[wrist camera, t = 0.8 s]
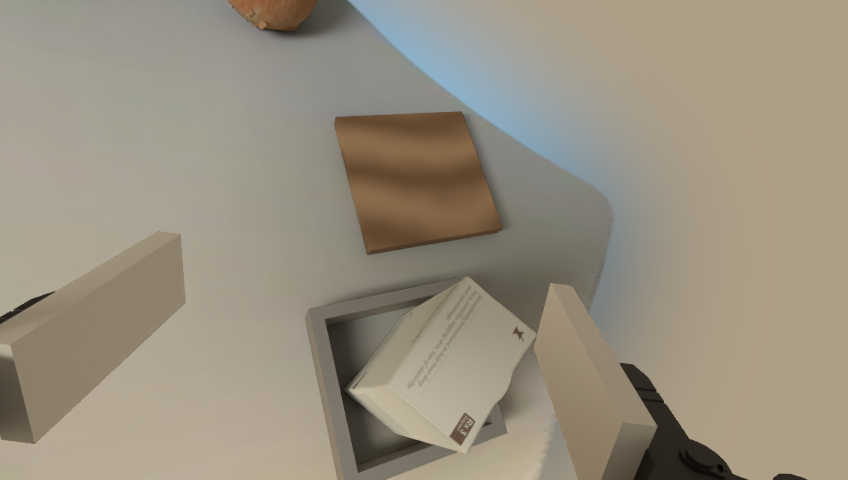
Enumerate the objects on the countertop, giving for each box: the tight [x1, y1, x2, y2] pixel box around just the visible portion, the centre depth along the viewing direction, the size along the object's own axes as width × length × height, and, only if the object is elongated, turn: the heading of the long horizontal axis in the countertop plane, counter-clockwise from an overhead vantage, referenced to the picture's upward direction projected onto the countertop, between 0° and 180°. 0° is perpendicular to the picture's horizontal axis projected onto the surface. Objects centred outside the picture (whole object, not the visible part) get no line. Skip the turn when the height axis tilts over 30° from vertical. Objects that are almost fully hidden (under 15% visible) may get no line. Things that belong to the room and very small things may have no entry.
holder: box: [305, 278, 507, 480], centre depth 36 cm, size 13×13×4 cm
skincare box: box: [344, 276, 537, 453], centre depth 31 cm, size 8×6×15 cm
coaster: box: [334, 111, 502, 255], centre depth 45 cm, size 14×14×1 cm
